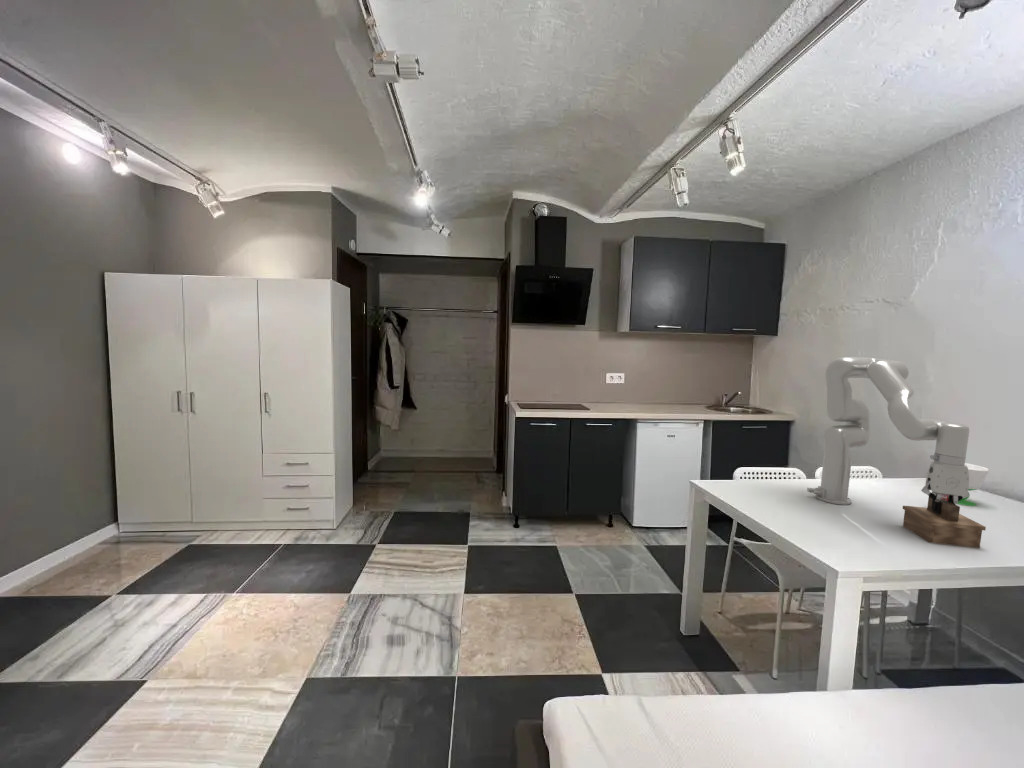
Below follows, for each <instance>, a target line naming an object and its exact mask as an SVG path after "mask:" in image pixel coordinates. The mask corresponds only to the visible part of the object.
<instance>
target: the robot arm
mask: <svg viewBox="0 0 1024 768" xmlns="http://www.w3.org/2000/svg"><path fill="white" fill-rule="evenodd" d="M909 372H910V371H909V368H908V367H907V365H906V364H905V363H904V362H902V361H900V360H892V359H884V358H877V357H867V356H864V357H863V356H842V357H838V358H835V359H834V360H832V361H831V362H830V363H829V364H828V366H827V368H826V369H825V381H826V414H827V418H829V419H830V420H831V421H832V422H837V423H840V422H841V423H843V422H845V424H835V425H831V426H829V427H827V428H826V429H825V430H824V431H823V435H822V441H823V460H822V471H821V480H820V485H817V487H815V488H814V487H813V488H812V487H807V489H806V491H807V493H812V494H813V495H814V496H815V497H816V499H818V500H819V501H822V502H825V503H829V504H835V505H841V506H842V505H843V506H844V505H845V506H846V505H847V506H848V505H851V504H852V503H853V501H852V499H851V498H850V497H849V490H850V489H849V487H850V481H851V480H850V476H851V472H852V471H851V469H852V456H851V453H850V449H858V448H863V447H864V446H867V444H868V442H869V441H870V433H871V431H870V410H869V407H868V405H867V403H865V402H864V401H863V400H860V399H857V398H853V389H852V385H851V383H850V381H849V380H848V379H852V378H853V379H869V380H870V381H871V382H872V384H873V385H874V386H875V388H876V389H877V390H878V391H879V393H880V394H881V396H883V398H884V399H885V401H886V402H887V411H888V418H889V420H890V422H891V423H892V424H893V425H894V427H895V428H896V429H897V431H898V432H899V433H900V434H901V435H902V436H903V437H905V438H906V439H908V440H911V441H917V442H918V441H935V442H936V443H935V449H934V454H933V455H932V454H931V455H930V456H929V457H930V459H931V460H933V461H931V463H930V465H929V468H928V470H927V472H926V473H927V475H926V478H925V484H924V486H923V487H922V489H921V492H922V493H924V494H926V495H927V496H928V498H929V497H930V498H931V499H932V507H931V508H932V511H933V512H935V513H937V514H940V512H941V502H940V499H941V495H942V494H946V495H948V501H949V502H951V503H953V504H955V505H958V504H957V503H958V501H960V500H961V499H962V498H966V497H969V498H970V496H969V494H970V492H969V491H968V490H969V472H968V467H967V466H965V463H966V460H967V459H966V457H967V450H968V443H969V436H970V428H969V426H968V425H966V424H963V423H958V422H948V421H944V420H942V419H938V418H918V417H917V416H916V415H915V413H914V412H913V411H912V409H911V408H910V406H909V403H908V402H909V401H908V400H909V399H910V398H912V397H913V396H914V392H915V391H914V389H913V388H912V387H911V386H910V385H909V383H908V382H907V381H906V379H907V378H908V376H909ZM968 492H969V493H968Z"/></svg>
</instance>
